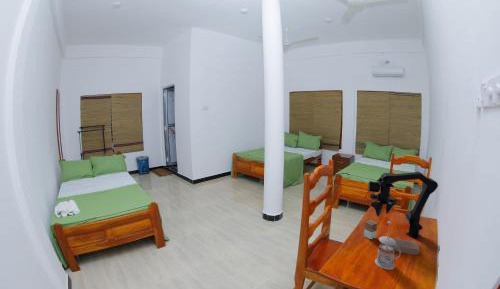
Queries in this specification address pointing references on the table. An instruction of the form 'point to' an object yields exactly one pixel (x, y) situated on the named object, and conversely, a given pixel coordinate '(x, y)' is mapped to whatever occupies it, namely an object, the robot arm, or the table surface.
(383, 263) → the french press
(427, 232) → the table surface
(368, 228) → the walnut cube
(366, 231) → the white cube
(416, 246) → the brick
